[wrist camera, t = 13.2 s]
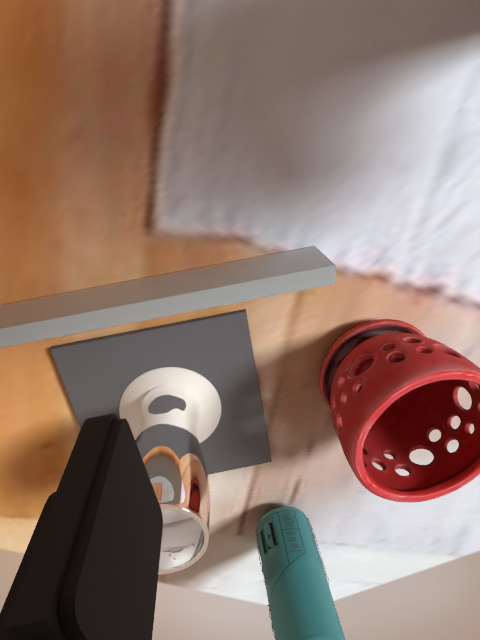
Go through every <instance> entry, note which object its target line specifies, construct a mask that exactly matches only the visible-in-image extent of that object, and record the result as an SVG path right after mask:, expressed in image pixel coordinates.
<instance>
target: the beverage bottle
mask: <svg viewBox="0 0 480 640" xmlns="http://www.w3.org/2000/svg"><path fill="white" fill-rule="evenodd" d="M311 526H312V525H310V523H309V520H308V518H307V517H306V516H305V514H304V513H303V512H302V511H300V510H298V509H296V508H293V507H280V508H276V509H273V510H271V511H269V512H267V513H266V514H264V515H263V516H262V517H261V519H260V520H259V522H258V525H257V529H256V530H257V533H256V535H257V536H256V537H257V539H256V540H257V542H258V543H257V544H259V547H258V546H257V547H258V549H259V550H260V551H259V552H260V555H259V556H261V561H262V572H263V573H264V574H263V576H264V579H265V581H264V583H265V584H266V590H267V596H268V602H269V605H267V606H269V608H270V610H269V611H270V613H271V619H272V628H273V630H274V634H275V639H276V640H345V637H344V634H343V631H342V627H341V624H340V621H339V618H338V614H337V611H336V608H335V605H334V601H333V598H332V595H331V592H330V589H329V585H328V582H329V581H328V582H327V578H328V577H327V578H326V575H327V574H325V572H326V571H324V569H325V568H324V567H323V566H324V565H323V564H322V561H321V558H320V555H319V553H320V552H318V550H319V549H318V548H317V547H318V546H317V545H318V544H317V543H316V542H315V541H317V540H315V539H314V538H316V537H314V536H313V535H314V534H313V533H312V530H311ZM312 529H313V528H312ZM313 532H314V531H313ZM316 544H317V545H316ZM259 552H258V553H259ZM320 554H321V553H320ZM259 559H260V557H259ZM323 563H324V562H323ZM260 564H261V562H260Z"/></svg>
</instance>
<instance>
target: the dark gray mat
mask: <svg viewBox="0 0 480 640" xmlns="http://www.w3.org/2000/svg"><path fill="white" fill-rule="evenodd" d="M50 351H51V353H52V356H53V358H54V361H55V363H56V366H57V369H58V371H59V374H60V376H61V379H62V381H63V384H64V386H65V389H66V391H67V394H68V396H69V399H70V401H71V404H72V407H73V409H74V412H75V414H76V417H77V419H78V422H79V424H80V427H81V428H82V425H83V423H84V421H85V420H86V419H88V418H92V417H97V416H102V415H107V414H112V413H114V414H116V415H117V417H118V419H123V418H125V419H126V420H127V421H128V423H129V426H130V428H131V431H132V434H133V436H134V439H135V440H136V438H137V435H138V432H139V419H138V408H139V404H140V402H141V400H142V398H143V397H144V396H145V395H146V394H147V393H148V392H149V391H151V390H152V389H154V388H157V387H160V386H164V385H175V386H180V387H183V388H185V389H187V390H189V391H190V392H192V393H193V394H194V395H195V397H196V398H197V400H198V402H199V404H200V409H201V414H200V420H199V423H198V427H197V435H198V439H199V443H200V446H201V449H202V452H203V456H204V459H205V463H206V467H207V472H208V474H213V473H218V472H223V471H227V470H232V469H237V468H242V467H247V466H252V465H257V464H262V463H267V462H271V456H270V450H269V444H268V438H267V432H266V426H265V420H264V415H263V409H262V403H261V397H260V391H259V385H258V379H257V374H256V368H255V362H254V356H253V350H252V344H251V338H250V332H249V327H248V321H247V315H246V310H245V309H244V310H239V311H234V312H229V313H224V314H218V315H213V316H208V317H203V318H198V319H192V320H187V321H182V322H177V323H172V324H166V325H161V326H156V327H151V328H146V329H140V330H135V331H130V332H125V333H119V334H114V335H109V336H104V337H99V338H93V339H88V340H83V341H78V342H73V343H67V344H62V345H57V346H52V347H51V349H50Z"/></svg>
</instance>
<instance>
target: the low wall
mask: <svg viewBox="0 0 480 640" xmlns="http://www.w3.org/2000/svg"><path fill="white" fill-rule="evenodd" d="M332 284H337V283H336V269H335V265H334V264H333V263H332V262H331V261H330V260H329V259H328V258H327V257H326V256H325V255H324V254H323V253H322V252H320V251H319V250H318V249H317V248H316V247H315V246H311V247H306V248H300V249H295V250H290V251H284V252H279V253H274V254H269V255H263V256H258V257H253V258H247V259H242V260H237V261H231V262H226V263H221V264H216V265H210V266H205V267H200V268H194V269H189V270H184V271H178V272H173V273H168V274H162V275H157V276H152V277H147V278H141V279H136V280H131V281H125V282H120V283H115V284H109V285H104V286H99V287H93V288H88V289H83V290H78V291H72V292H67V293H62V294H56V295H51V296H46V297H40V298H35V299H30V300H25V301H19V302H14V303H9V304H3V305H0V348H3V347H8V346H14V345H19V344H24V343H29V342H34V341H40V340H45V339H50V338H55V337H61V336H66V335H71V334H76V333H81V332H87V331H92V330H97V329H102V328H108V327H113V326H118V325H123V324H128V323H134V322H139V321H144V320H149V319H155V318H160V317H165V316H170V315H175V314H181V313H186V312H191V311H196V310H202V309H207V308H212V307H217V306H222V305H228V304H233V303H238V302H243V301H248V300H254V299H259V298H264V297H269V296H275V295H280V294H285V293H290V292H295V291H301V290H306V289H311V288H316V287H322V286H327V285H332Z"/></svg>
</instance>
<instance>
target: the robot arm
mask: <svg viewBox="0 0 480 640" xmlns="http://www.w3.org/2000/svg"><path fill="white" fill-rule="evenodd" d="M162 531H163V516H162V511H161V507H160V505H159V502H158V499H157V497H156V494H155V491H154V489H153V486H152V484H151V481H150V478H149V476H148V473H147V470H146V468H145V465H144V462H143V460H142V457H141V455H140V452H139V449H138V447H137V444H136V441H135V439H134V436H133V434H132V431H131V428H130V426H129V423H128V421H127V420H126V419H125V418H123V419H118V417H117V415H116V414H114V413H112V414H107V415H102V416H97V417H92V418H88V419H86V420H85V421H84V423H83V425H82V428H81V430H80V433H79V435H78V438H77V440H76V443H75V446H74V448H73V451H72V453H71V456H70V458H69V461H68V463H67V466H66V468H65V471H64V473H63V476H62V478H61V481H60V484H59V486H58V489H57V491H56V492H54V493H53V494H51V495H50V496H49V498H48V500H47V502H46V503H45V506H44V508H43V511H42V513H41V515H40V518H39V520H38V523H37V525H36V528H35V530H34V533H33V535H32V537H31V540H30V542H29V545H28V547H27V550H26V552H25V554H24V557H23V559H22V562H21V564H20V567H19V569H18V572H17V574H16V577H15V579H14V581H13V584H12V586H11V589H10V591H9V594H8V596H7V598H6V601H5V603H4V606H3V608H2V611H1V613H0V640H152V631H153V621H154V611H155V601H156V590H157V581H158V571H159V561H160V551H161V541H162Z"/></svg>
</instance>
